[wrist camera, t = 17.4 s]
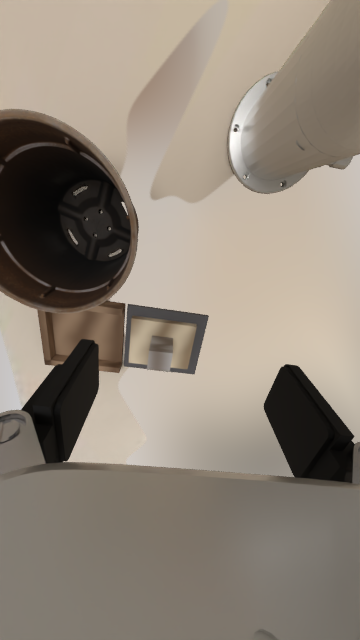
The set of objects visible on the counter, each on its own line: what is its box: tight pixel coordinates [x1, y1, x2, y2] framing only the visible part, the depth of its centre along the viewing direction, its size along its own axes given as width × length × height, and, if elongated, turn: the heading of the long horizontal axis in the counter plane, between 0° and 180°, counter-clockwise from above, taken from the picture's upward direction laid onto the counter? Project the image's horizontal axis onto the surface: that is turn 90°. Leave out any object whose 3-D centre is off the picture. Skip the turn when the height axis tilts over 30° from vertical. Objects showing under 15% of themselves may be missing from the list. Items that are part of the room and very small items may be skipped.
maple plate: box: [129, 316, 197, 372], centre depth 40 cm, size 12×10×6 cm
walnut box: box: [37, 301, 125, 373], centre depth 41 cm, size 14×14×3 cm
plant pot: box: [0, 109, 138, 313], centre depth 26 cm, size 16×16×16 cm
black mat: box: [124, 304, 209, 374], centre depth 43 cm, size 15×14×1 cm
